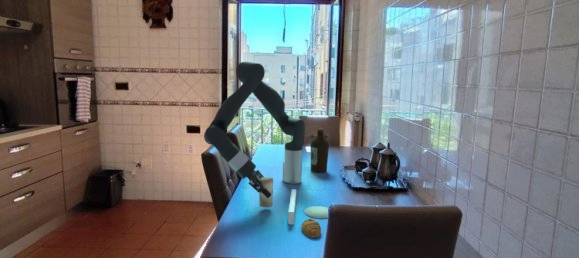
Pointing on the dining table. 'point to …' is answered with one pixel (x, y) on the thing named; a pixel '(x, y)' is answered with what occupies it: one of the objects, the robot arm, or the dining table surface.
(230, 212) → the dining table surface
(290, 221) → the wall
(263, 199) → the dome-topped cylinder
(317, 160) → the olive oil
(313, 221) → the pastry
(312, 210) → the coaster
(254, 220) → the dining table surface
